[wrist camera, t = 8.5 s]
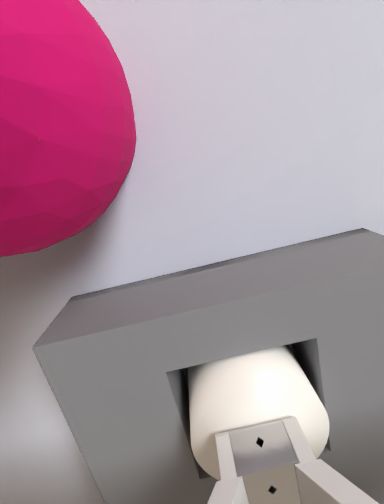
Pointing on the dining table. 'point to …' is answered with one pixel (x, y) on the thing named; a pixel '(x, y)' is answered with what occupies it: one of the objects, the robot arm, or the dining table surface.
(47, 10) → the pepper mill
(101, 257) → the dining table surface
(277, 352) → the ball
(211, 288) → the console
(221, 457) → the robot arm
